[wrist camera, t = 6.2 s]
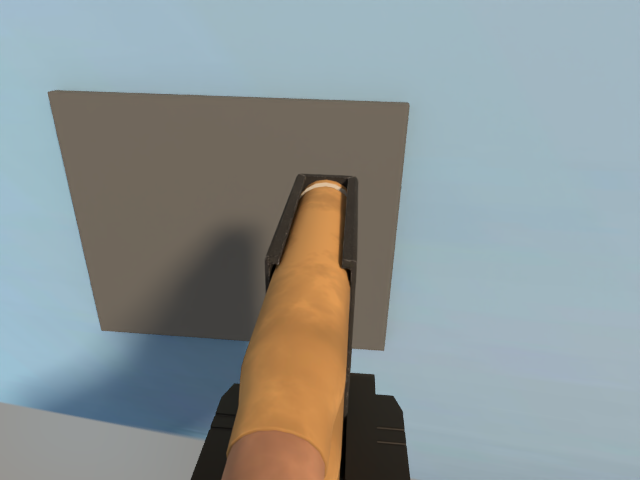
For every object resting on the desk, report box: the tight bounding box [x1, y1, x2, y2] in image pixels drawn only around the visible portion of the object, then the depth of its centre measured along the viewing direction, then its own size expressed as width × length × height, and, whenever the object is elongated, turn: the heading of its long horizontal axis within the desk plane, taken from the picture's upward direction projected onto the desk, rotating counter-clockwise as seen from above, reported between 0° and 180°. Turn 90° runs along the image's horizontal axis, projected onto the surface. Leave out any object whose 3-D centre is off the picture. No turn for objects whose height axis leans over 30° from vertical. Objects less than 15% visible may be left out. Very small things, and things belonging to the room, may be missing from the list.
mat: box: [48, 90, 409, 351], centre depth 22 cm, size 16×13×1 cm
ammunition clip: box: [221, 173, 358, 480], centre depth 10 cm, size 11×2×12 cm, turn 179°
